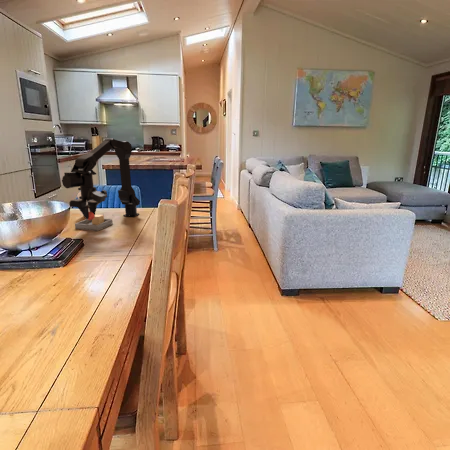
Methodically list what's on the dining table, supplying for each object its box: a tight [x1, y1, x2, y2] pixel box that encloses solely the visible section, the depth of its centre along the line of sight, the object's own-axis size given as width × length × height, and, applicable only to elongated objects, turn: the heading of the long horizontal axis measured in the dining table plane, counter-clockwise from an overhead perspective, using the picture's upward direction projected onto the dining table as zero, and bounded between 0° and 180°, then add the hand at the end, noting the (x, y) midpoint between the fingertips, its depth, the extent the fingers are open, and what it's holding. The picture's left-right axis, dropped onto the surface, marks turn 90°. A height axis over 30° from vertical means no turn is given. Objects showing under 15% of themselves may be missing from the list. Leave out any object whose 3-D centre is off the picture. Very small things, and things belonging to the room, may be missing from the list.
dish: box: [74, 218, 113, 232], centre depth 151 cm, size 12×12×2 cm
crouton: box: [92, 213, 105, 225], centre depth 153 cm, size 4×4×4 cm
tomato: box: [88, 212, 96, 220], centre depth 147 cm, size 4×4×4 cm
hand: (90, 217), depth 148 cm, fingers closed on tomato, 4 cm apart
